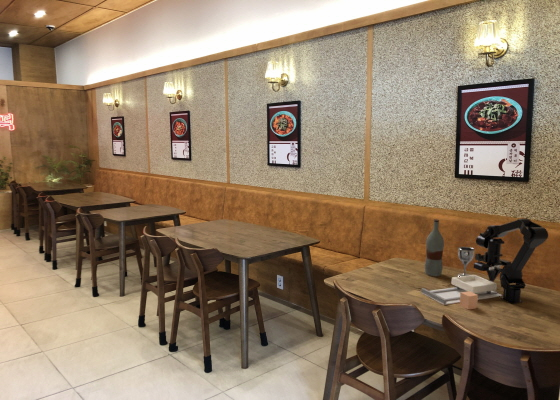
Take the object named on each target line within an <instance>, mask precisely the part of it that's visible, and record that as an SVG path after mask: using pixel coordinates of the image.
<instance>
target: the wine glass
mask: <svg viewBox="0 0 560 400" xmlns="http://www.w3.org/2000/svg"><path fill="white" fill-rule="evenodd" d="M457 255H458V259H459V261H460V262H461V263H462V265H463V273H458V274H457V277H459V276H468V275H469V273H466V270H467V266H468V264H470V263H471V262H472V261H473V259H474V257H475V248H473V247H469V246H459V247H458V249H457Z"/></svg>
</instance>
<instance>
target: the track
mask: <svg viewBox="0 0 560 400" xmlns="http://www.w3.org/2000/svg"><path fill="white" fill-rule="evenodd" d="M420 290H421V292H420V293H421V294H423V295H425V296H426V297H428V298H430V299H432V300H434V301H436V302H438V303H440V304H441V305H442V306H447V305H452V304H460V293H461V292H468V291H466V290H464V289H462V288H456V286H455V287H448V288H441V289H434V290H433V289H431V290H428V289H426V288H425V287H424V288H423V287H422V288H421V289H420ZM476 294H477V295H478V301H479V300H485V299H492V298H498V297H499V296H500V297H503V294H500V293H498V291H495V290H494V291H491V293H487V292H480V293H476Z"/></svg>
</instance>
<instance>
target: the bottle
mask: <svg viewBox="0 0 560 400" xmlns="http://www.w3.org/2000/svg"><path fill="white" fill-rule="evenodd" d="M439 223H440V219H436V218H435V219H434V220H433V228H432V230H431V231H430V233H429V234H428V236H427V237H426V241H425V248H426V250H425V251H426V252H425V253H426V257H425V263H424V272H425V275H428V276H431V277H440V276H441V275H442V271H443V267H444V266H443V253H444V248H445V243H444V242H445V241H444V237H443V235H442V233H441V232H440V229H439V226H440V225H439Z"/></svg>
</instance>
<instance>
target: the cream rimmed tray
mask: <svg viewBox="0 0 560 400" xmlns="http://www.w3.org/2000/svg"><path fill="white" fill-rule="evenodd" d="M450 283H451V285H453V286H455V287H456V288H462V289H464V290H466V291H470V292H472V293H475V294H476V293H480V292H487V293H491V291H494V292H495V291H497V287H498V283H497V282H495V281H494V282H492V281H490V280H488V279H486V278H483V277H481V276H479V275H476V274H468V276H460V277H459V276H453V277H451V282H450Z"/></svg>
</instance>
